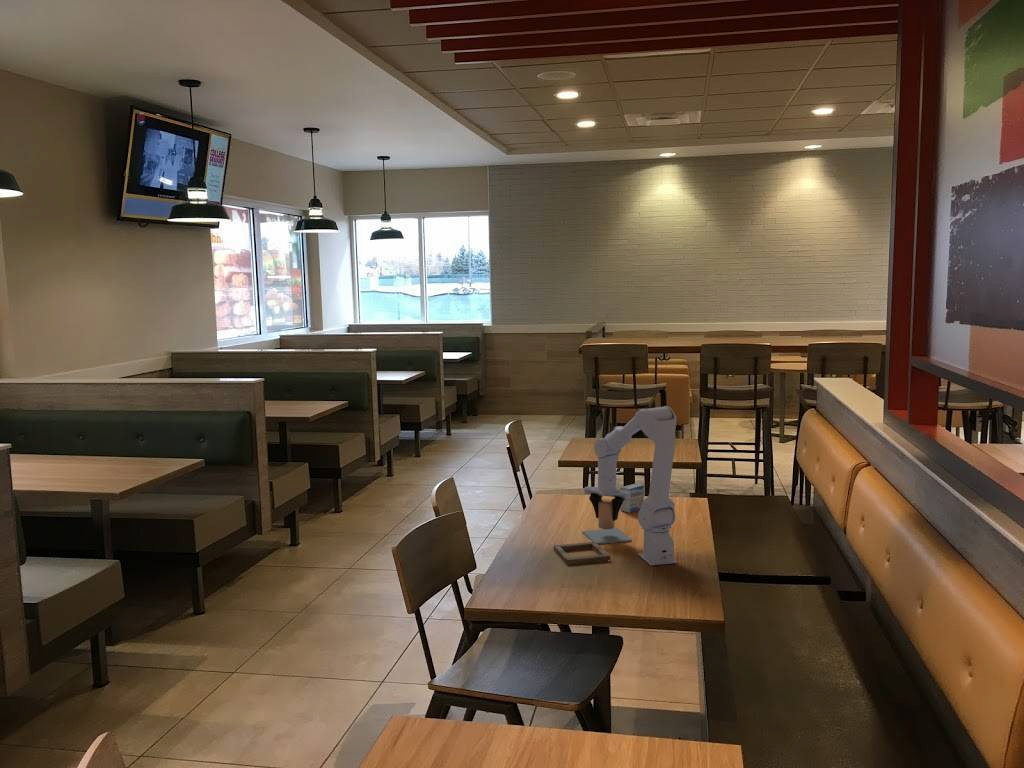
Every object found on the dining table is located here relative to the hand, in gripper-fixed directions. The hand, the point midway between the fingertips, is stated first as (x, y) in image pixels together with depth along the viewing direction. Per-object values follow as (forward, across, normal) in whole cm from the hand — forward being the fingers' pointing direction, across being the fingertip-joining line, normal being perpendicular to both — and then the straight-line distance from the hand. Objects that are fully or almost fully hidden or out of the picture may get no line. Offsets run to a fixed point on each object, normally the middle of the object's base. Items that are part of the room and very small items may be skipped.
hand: (606, 518), depth 255 cm
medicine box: (+6, -3, +32) cm, 33 cm away
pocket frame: (+6, 0, -19) cm, 20 cm away
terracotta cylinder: (+3, 0, 0) cm, 3 cm away
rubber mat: (+6, 0, 0) cm, 6 cm away
